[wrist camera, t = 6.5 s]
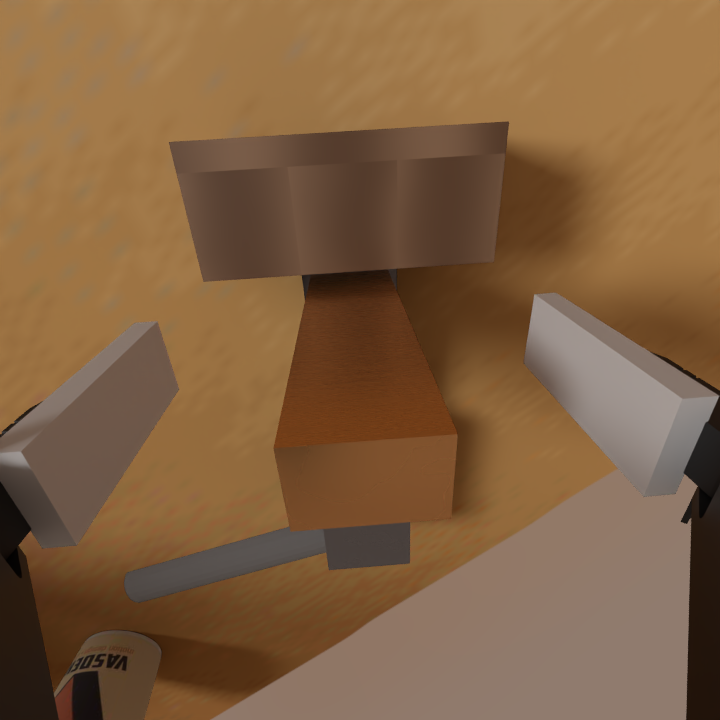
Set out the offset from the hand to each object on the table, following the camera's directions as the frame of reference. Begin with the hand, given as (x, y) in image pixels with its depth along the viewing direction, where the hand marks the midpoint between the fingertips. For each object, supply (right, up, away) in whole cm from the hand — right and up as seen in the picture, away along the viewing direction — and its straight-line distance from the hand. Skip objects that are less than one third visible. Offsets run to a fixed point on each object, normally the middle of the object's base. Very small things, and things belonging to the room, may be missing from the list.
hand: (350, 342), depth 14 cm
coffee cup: (-24, -31, +27) cm, 47 cm away
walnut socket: (-1, +8, +7) cm, 11 cm away
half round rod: (-11, -18, +22) cm, 30 cm away
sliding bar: (0, 0, +11) cm, 11 cm away
